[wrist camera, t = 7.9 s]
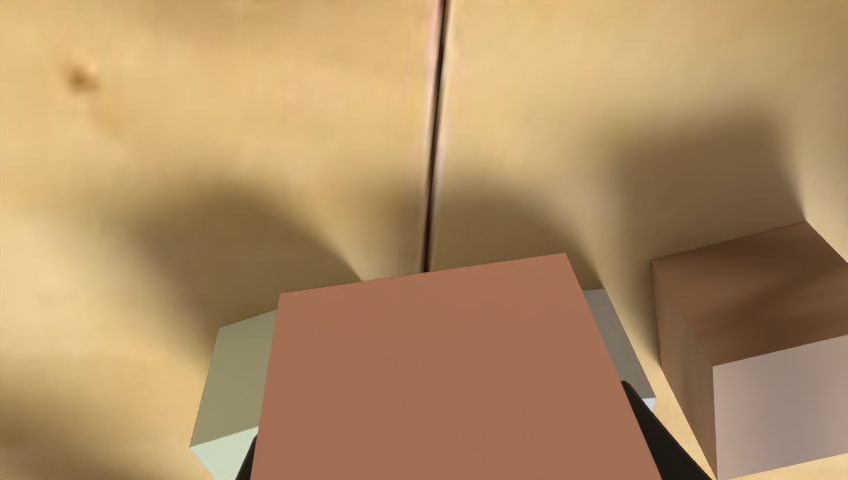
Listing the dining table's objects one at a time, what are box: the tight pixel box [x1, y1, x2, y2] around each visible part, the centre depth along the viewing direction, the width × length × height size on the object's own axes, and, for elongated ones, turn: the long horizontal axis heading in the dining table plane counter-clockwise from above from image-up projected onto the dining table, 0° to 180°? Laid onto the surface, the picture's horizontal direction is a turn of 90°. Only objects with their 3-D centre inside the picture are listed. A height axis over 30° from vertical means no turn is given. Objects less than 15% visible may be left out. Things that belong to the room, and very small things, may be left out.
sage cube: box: [189, 309, 277, 480], centre depth 22 cm, size 5×5×5 cm
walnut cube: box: [650, 221, 848, 480], centre depth 22 cm, size 5×5×5 cm
